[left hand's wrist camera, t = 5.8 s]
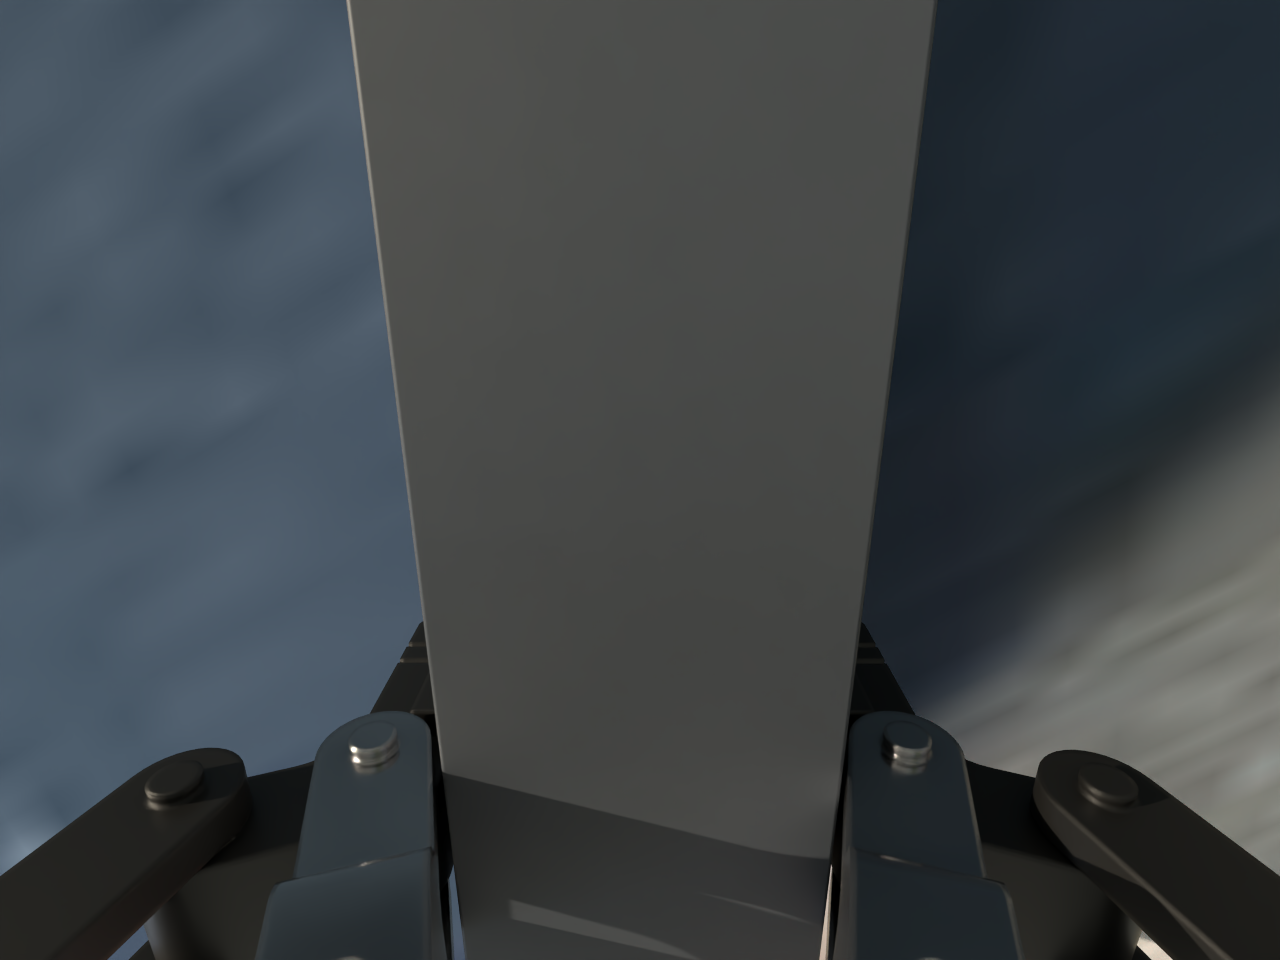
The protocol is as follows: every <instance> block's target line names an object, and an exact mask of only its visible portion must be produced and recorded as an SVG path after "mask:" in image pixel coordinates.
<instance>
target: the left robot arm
mask: <svg viewBox="0 0 1280 960" xmlns="http://www.w3.org/2000/svg"><path fill="white" fill-rule="evenodd" d="M453 864H454V863H453V855H452V847H451V839H450V831H449V823H448V815H447V807H446V799H445V791H444V783H443V775H442V767H441V759H440V751H439V743H438V735H437V727H436V718H435V710H434V702H433V694H432V686H431V678H430V670H429V662H428V654H427V646H426V638H425V630H424V622H421V623H420V624H419V626H418V627H417V629H416V631H415V633H414V635H413V637H412V638H411V640H410V642H409V647H406V649H405V651H404V653H403V655H402V656H401V658H400V663H398V664H397V666H396V667H395V669H394V671H393V673H392V675H391V676H390V678H389V680H388V682H387V684H386V685H385V687H384V689H383V691H382V693H381V694H380V696H379V698H378V700H377V702H376V704H375V705H374V707H373V709H372V711H371V713H370V714H367V715H364V716H361V717H358V718H356V719H354V720H352V721H349V722H348V723H346V724H344V725H342V726H341V727H339V728H338V729H336V730H335V731H334V732H332V733H331V734H330V735H329V736H328V737H327V738H326V739H325V740H324V742H323V743H322V744H321V746H320V747H319V749H318V751H317V754H316V757H315V761H312V762H309V763H307V764H303V765H299V766H296V767H291V768H287V769H282V770H278V771H274V772H269V773H265V774H261V775H256V776H252V777H247V774H246V770H245V766H244V763H243V760H242V759H241V758H240V757H239V755H237V754H236V753H234V752H232V751H229V750H227V749H221V748H201V749H195V750H190V751H185V752H182V753H178V754H175V755H173V756H170V757H167V758H165V759H163V760H160V761H158V762H156V763H154V764H152V765H150V766H149V767H147V768H145V769H143V770H142V771H140V772H139V773H137V774H136V775H135V776H133V777H132V778H130V779H129V780H128V781H126V782H125V783H124V784H122V785H121V786H120V787H118V788H117V789H116V790H114V791H113V792H112V793H110V794H109V795H108V796H106V797H105V798H104V799H102V800H101V801H100V802H98V803H97V804H96V805H94V806H93V807H92V808H90V809H89V810H88V811H87V812H85V813H84V814H83V815H81V816H80V817H79V818H77V819H76V820H75V821H73V822H72V823H71V824H69V825H68V826H67V827H65V828H64V829H63V830H61V831H60V832H59V833H57V834H56V835H55V836H53V837H52V838H51V839H49V840H48V841H47V842H45V843H44V844H43V845H41V846H40V847H39V848H37V849H36V850H35V851H33V852H32V853H31V854H29V855H28V856H27V857H25V858H24V859H23V860H21V861H20V862H19V863H17V864H16V865H15V866H13V867H12V868H11V869H9V870H8V871H7V872H5V873H4V874H3V875H1V876H0V960H107V959H108V958H109V957H110V956H111V955H112V954H113V953H114V952H116V951H117V950H118V949H119V948H120V947H121V946H122V945H123V944H124V943H125V942H126V941H127V940H128V939H129V938H130V937H131V936H132V935H133V934H134V933H135V932H136V931H137V930H138V929H139V928H140V927H141V926H142V925H144V928H145V930H146V933H147V936H148V939H149V940H148V941H147V942H146V943H145V944H144V945H143V946H142V947H141V948H140V949H139V950H138V951H137V952H136V953H135V954H134V955H133V956H132V957H131V958H130V959H129V960H454V943H453V924H452V905H451V890H450V882H449V877H450V874H451V871H452V867H453ZM831 865H832V874H831V882H830V890H829V905H828V924H827V943H826V960H1151V959H1150V958H1149V957H1148V956H1147V955H1146V954H1145V953H1144V952H1143V951H1142V950H1141V949H1140V948H1139V947H1138V946H1137V943H1138V940H1139V937H1140V934H1141V931H1142V930H1143V931H1144V932H1145V933H1146V934H1147V935H1148V936H1149V937H1150V938H1151V939H1152V940H1153V941H1154V942H1155V943H1156V944H1157V945H1158V946H1159V947H1160V948H1161V949H1162V950H1163V951H1164V952H1166V953H1167V954H1168V955H1169V956H1170V957H1171V958H1172V959H1173V960H1280V876H1279V875H1277V874H1276V873H1275V872H1273V871H1272V870H1271V869H1269V868H1268V867H1267V866H1265V865H1264V864H1263V863H1261V862H1260V861H1259V860H1257V859H1256V858H1255V857H1253V856H1252V855H1251V854H1249V853H1248V852H1247V851H1245V850H1244V849H1243V848H1241V847H1240V846H1239V845H1237V844H1236V843H1235V842H1233V841H1232V840H1231V839H1229V838H1228V837H1227V836H1225V835H1224V834H1223V833H1221V832H1220V831H1219V830H1217V829H1216V828H1215V827H1213V826H1212V825H1211V824H1209V823H1208V822H1207V821H1205V820H1204V819H1203V818H1202V817H1200V816H1199V815H1198V814H1196V813H1195V812H1194V811H1192V810H1191V809H1190V808H1188V807H1187V806H1186V805H1184V804H1183V803H1182V802H1180V801H1179V800H1178V799H1176V798H1175V797H1174V796H1172V795H1171V794H1170V793H1168V792H1167V791H1166V790H1164V789H1163V788H1162V787H1160V786H1159V785H1158V784H1156V783H1155V782H1154V781H1152V780H1151V779H1150V778H1148V777H1147V776H1145V775H1144V774H1142V773H1141V772H1139V771H1137V770H1136V769H1134V768H1132V767H1130V766H1129V765H1126V764H1124V763H1122V762H1120V761H1118V760H1115V759H1113V758H1110V757H1107V756H1104V755H1100V754H1097V753H1093V752H1088V751H1081V750H1062V751H1056V752H1053V753H1051V754H1048V755H1047V756H1046V757H1044V758H1043V759H1042V761H1041V762H1040V764H1039V767H1038V771H1037V775H1036V778H1034V777H1029V776H1025V775H1020V774H1016V773H1012V772H1007V771H1003V770H998V769H994V768H990V767H986V766H982V765H979V764H976V763H973V762H971V761H968V760H966V759H965V757H964V754H963V751H962V749H961V747H960V746H959V744H958V743H957V742H956V740H955V739H954V738H953V737H952V736H951V735H950V734H949V733H948V732H946V731H945V730H944V729H942V728H941V727H939V726H938V725H936V724H934V723H932V722H931V721H928V720H926V719H924V718H922V717H919V716H916V715H915V713H914V712H913V710H912V708H911V706H910V705H909V703H908V701H907V699H906V697H905V696H904V694H903V692H902V690H901V689H900V687H899V685H898V683H897V681H896V680H895V678H894V676H893V674H892V672H891V671H890V669H889V667H888V665H887V664H885V663H884V658H883V656H882V655H881V653H880V651H879V649H878V648H877V647H875V642H874V640H873V639H872V637H871V635H870V633H869V631H868V630H867V628H866V626H865V624H863V623H862V622H861V626H860V634H859V642H858V651H857V659H856V667H855V675H854V683H853V691H852V699H851V707H850V715H849V723H848V731H847V739H846V747H845V755H844V764H843V772H842V780H841V788H840V796H839V804H838V812H837V820H836V828H835V836H834V844H833V852H832V860H831Z"/></svg>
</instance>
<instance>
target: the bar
mask: <svg viewBox="0 0 1280 960" xmlns="http://www.w3.org/2000/svg"><path fill="white" fill-rule="evenodd" d="M346 2H347V10H348V18H349V26H350V34H351V42H352V50H353V58H354V66H355V74H356V82H357V91H358V99H359V107H360V115H361V123H362V131H363V139H364V147H365V155H366V163H367V171H368V179H369V187H370V195H371V203H372V211H373V219H374V227H375V235H376V243H377V252H378V260H379V268H380V276H381V284H382V292H383V300H384V308H385V316H386V324H387V332H388V340H389V348H390V356H391V364H392V372H393V380H394V388H395V396H396V405H397V413H398V421H399V429H400V437H401V445H402V453H403V461H404V469H405V477H406V485H407V493H408V501H409V509H410V517H411V525H412V533H413V541H414V549H415V557H416V566H417V574H418V582H419V590H420V598H421V606H422V614H423V622H424V630H425V638H426V646H427V654H428V662H429V670H430V678H431V686H432V694H433V702H434V710H435V718H436V727H437V735H438V743H439V751H440V759H441V767H442V775H443V783H444V791H445V799H446V807H447V815H448V823H449V831H450V839H451V847H452V855H453V863H454V871H455V879H456V888H457V896H458V904H459V912H460V920H461V928H462V936H463V944H464V952H465V960H819V957H820V949H821V941H822V933H823V925H824V917H825V909H826V901H827V893H828V885H829V877H830V868H831V860H832V852H833V844H834V836H835V828H836V820H837V812H838V804H839V796H840V788H841V780H842V772H843V764H844V755H845V747H846V739H847V731H848V723H849V715H850V707H851V699H852V691H853V683H854V675H855V667H856V659H857V651H858V642H859V634H860V626H861V618H862V610H863V602H864V594H865V586H866V578H867V570H868V562H869V554H870V546H871V538H872V529H873V521H874V513H875V505H876V497H877V489H878V481H879V473H880V465H881V457H882V449H883V441H884V433H885V425H886V417H887V408H888V400H889V392H890V384H891V376H892V368H893V360H894V352H895V344H896V336H897V328H898V320H899V312H900V304H901V295H902V287H903V279H904V271H905V263H906V255H907V247H908V239H909V231H910V223H911V215H912V207H913V199H914V191H915V182H916V174H917V166H918V158H919V150H920V142H921V134H922V126H923V118H924V110H925V102H926V94H927V86H928V78H929V69H930V61H931V53H932V45H933V37H934V29H935V21H936V13H937V5H938V0H346Z"/></svg>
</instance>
